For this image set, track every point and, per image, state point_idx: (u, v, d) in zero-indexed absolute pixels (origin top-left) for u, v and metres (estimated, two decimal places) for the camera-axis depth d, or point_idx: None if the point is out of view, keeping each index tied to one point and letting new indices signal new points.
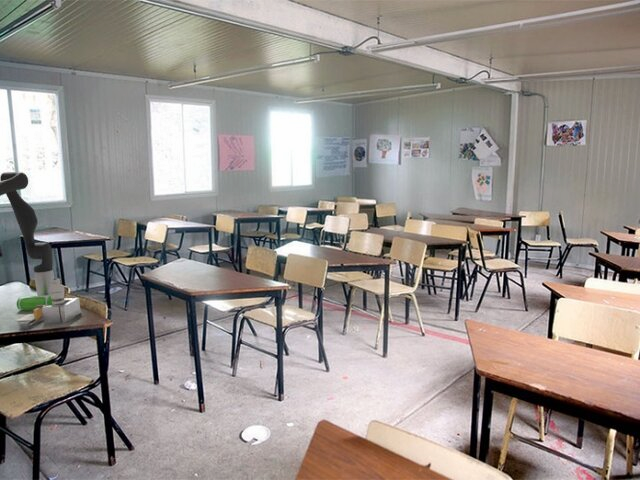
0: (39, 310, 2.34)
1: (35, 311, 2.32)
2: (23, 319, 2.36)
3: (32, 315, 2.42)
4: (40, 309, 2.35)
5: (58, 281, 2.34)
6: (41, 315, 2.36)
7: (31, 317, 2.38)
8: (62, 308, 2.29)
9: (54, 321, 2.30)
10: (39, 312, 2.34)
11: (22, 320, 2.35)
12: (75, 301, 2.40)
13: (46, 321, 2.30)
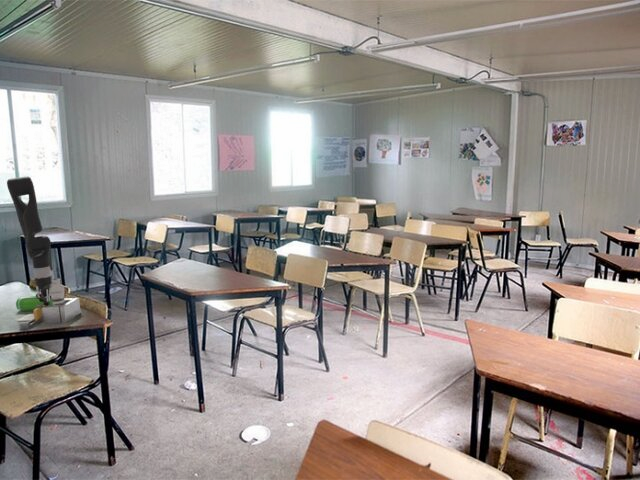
0: (39, 310, 2.34)
1: (35, 311, 2.32)
2: (23, 319, 2.36)
3: (32, 315, 2.42)
4: (40, 309, 2.35)
5: (58, 281, 2.34)
6: (41, 315, 2.35)
7: (31, 317, 2.38)
8: (62, 308, 2.29)
9: (54, 321, 2.30)
10: (39, 312, 2.34)
11: (22, 320, 2.35)
12: (75, 301, 2.40)
13: (46, 321, 2.30)
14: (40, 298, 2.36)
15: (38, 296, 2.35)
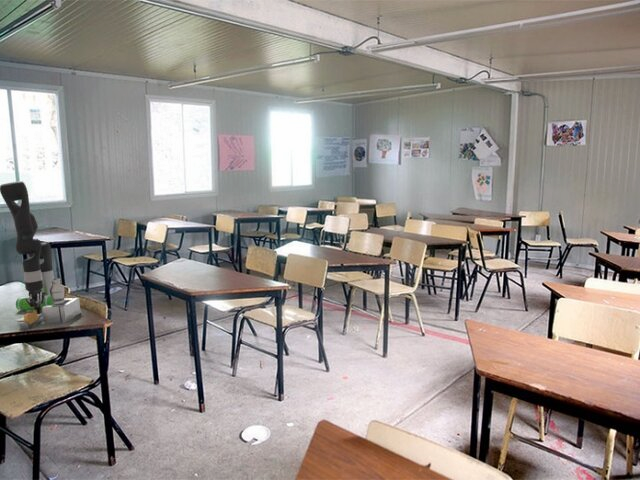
0: (29, 315, 2.26)
1: (25, 316, 2.24)
2: (23, 319, 2.36)
3: None
4: (30, 314, 2.27)
5: (58, 281, 2.34)
6: (32, 320, 2.28)
7: None
8: (62, 308, 2.29)
9: (54, 321, 2.30)
10: (29, 317, 2.26)
11: (22, 320, 2.35)
12: (75, 301, 2.40)
13: (46, 321, 2.30)
14: (31, 303, 2.28)
15: (28, 301, 2.27)
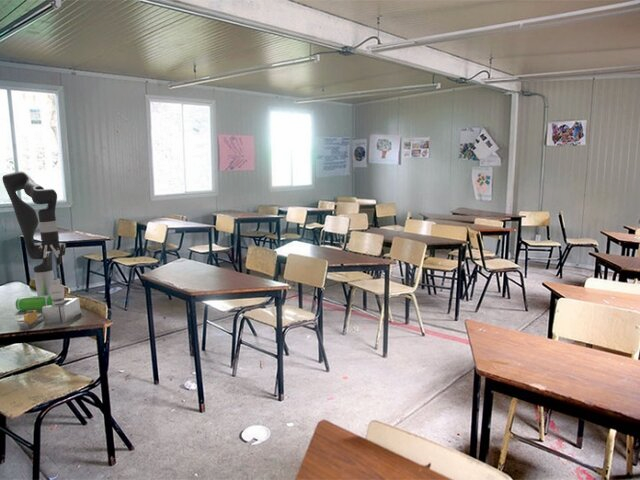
0: (29, 315, 2.26)
1: (25, 316, 2.24)
2: (23, 319, 2.36)
3: None
4: (30, 314, 2.27)
5: (58, 281, 2.34)
6: (32, 320, 2.28)
7: None
8: (62, 308, 2.29)
9: (54, 321, 2.30)
10: (29, 317, 2.26)
11: (22, 320, 2.35)
12: (75, 301, 2.40)
13: (46, 321, 2.30)
14: (64, 249, 2.32)
15: (64, 246, 2.32)
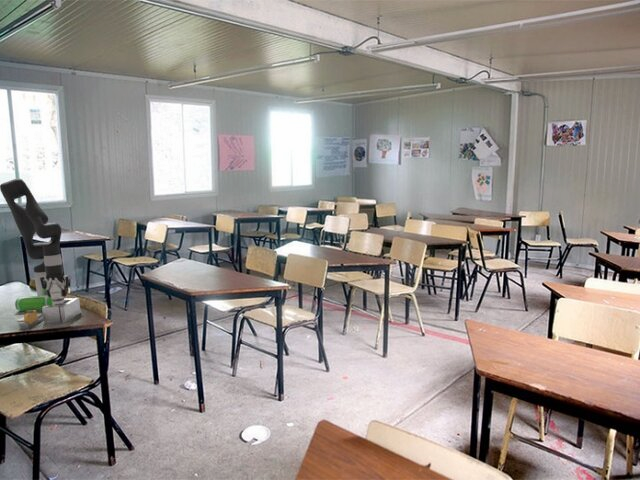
0: (29, 315, 2.26)
1: (25, 316, 2.24)
2: (23, 319, 2.36)
3: None
4: (30, 314, 2.27)
5: None
6: (32, 320, 2.28)
7: None
8: (62, 308, 2.29)
9: (54, 321, 2.30)
10: (29, 317, 2.26)
11: (22, 320, 2.35)
12: (75, 301, 2.40)
13: (46, 321, 2.30)
14: (69, 280, 2.35)
15: (68, 277, 2.34)
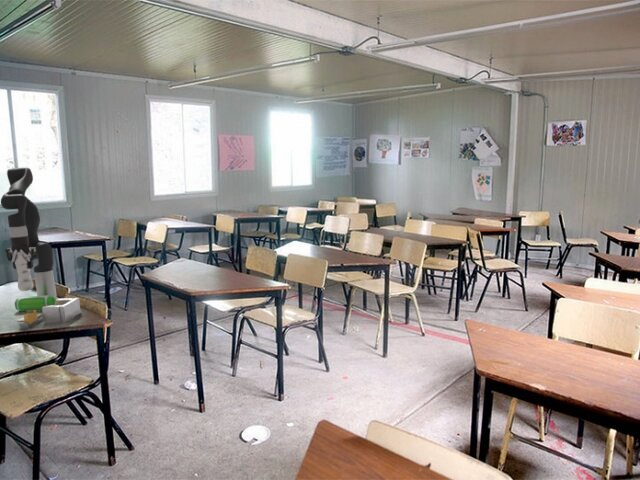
0: (29, 315, 2.26)
1: (25, 316, 2.24)
2: (23, 319, 2.36)
3: None
4: (30, 314, 2.27)
5: None
6: (32, 320, 2.28)
7: None
8: (62, 308, 2.29)
9: (54, 321, 2.30)
10: (29, 317, 2.26)
11: (22, 320, 2.35)
12: (75, 301, 2.40)
13: (46, 321, 2.30)
14: (35, 252, 2.34)
15: (34, 249, 2.34)
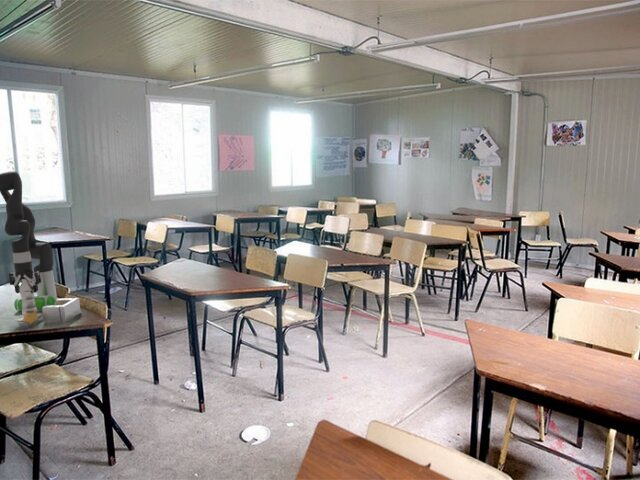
0: (29, 315, 2.26)
1: (25, 316, 2.24)
2: (23, 319, 2.36)
3: None
4: (30, 314, 2.27)
5: None
6: (32, 320, 2.28)
7: None
8: (62, 308, 2.29)
9: (54, 321, 2.30)
10: (29, 317, 2.26)
11: (22, 320, 2.35)
12: (75, 301, 2.40)
13: (46, 321, 2.30)
14: (39, 276, 2.36)
15: (38, 273, 2.36)
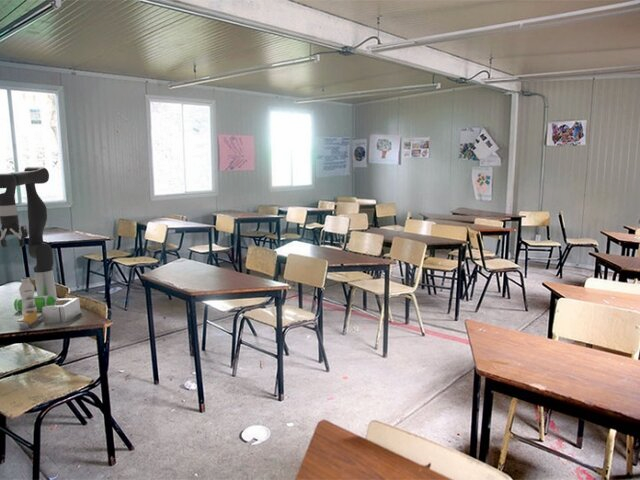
0: (29, 315, 2.26)
1: (25, 316, 2.24)
2: (23, 319, 2.36)
3: None
4: (30, 314, 2.27)
5: (28, 280, 2.36)
6: (32, 320, 2.28)
7: None
8: (62, 308, 2.29)
9: (54, 321, 2.30)
10: (29, 317, 2.26)
11: (22, 320, 2.35)
12: (75, 301, 2.40)
13: (46, 321, 2.30)
14: (25, 230, 2.36)
15: (24, 227, 2.36)
